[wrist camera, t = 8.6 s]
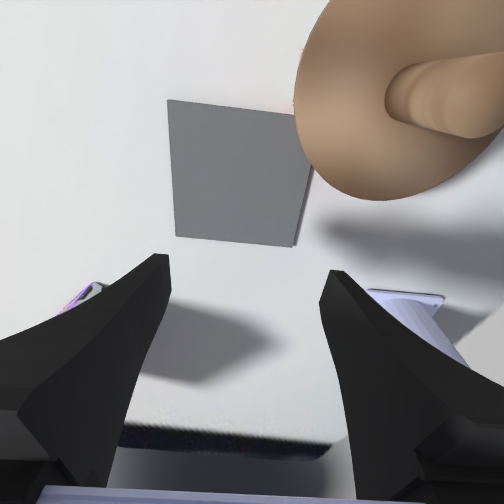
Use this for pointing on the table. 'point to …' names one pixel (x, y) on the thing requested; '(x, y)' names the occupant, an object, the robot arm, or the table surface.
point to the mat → (236, 173)
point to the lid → (400, 92)
